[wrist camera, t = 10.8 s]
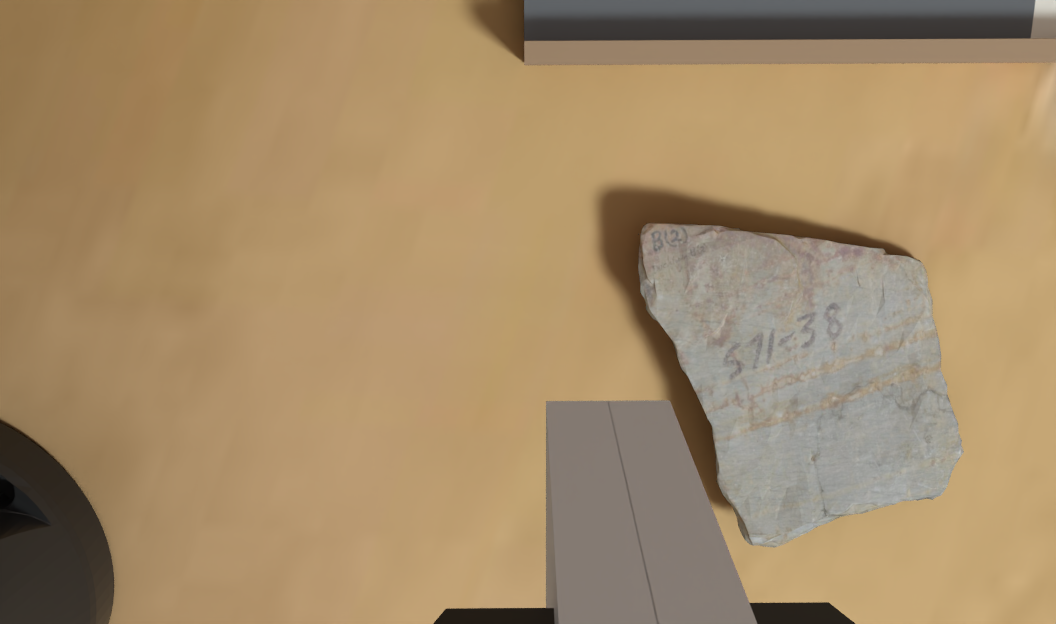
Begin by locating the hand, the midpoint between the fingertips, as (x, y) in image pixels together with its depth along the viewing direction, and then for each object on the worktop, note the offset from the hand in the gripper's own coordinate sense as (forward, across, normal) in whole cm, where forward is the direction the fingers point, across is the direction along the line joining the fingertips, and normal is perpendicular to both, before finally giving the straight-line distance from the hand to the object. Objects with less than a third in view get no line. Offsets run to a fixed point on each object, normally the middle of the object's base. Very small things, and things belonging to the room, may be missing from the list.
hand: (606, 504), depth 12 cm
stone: (+27, +10, -8) cm, 30 cm away
